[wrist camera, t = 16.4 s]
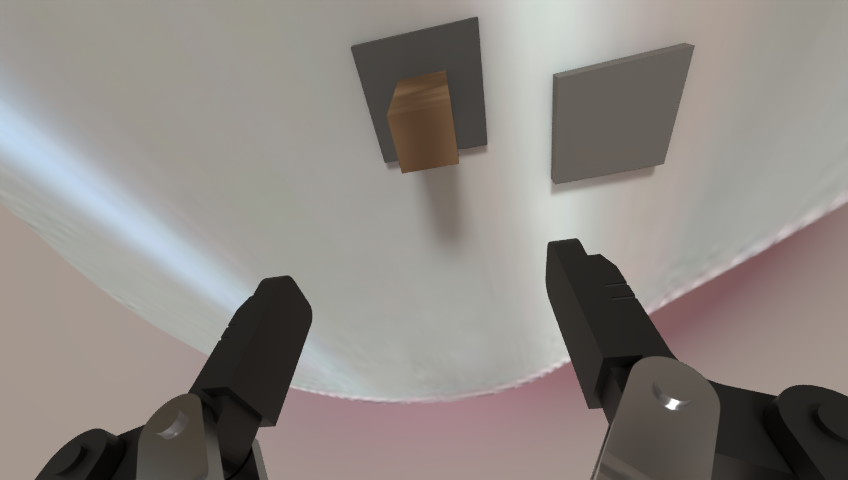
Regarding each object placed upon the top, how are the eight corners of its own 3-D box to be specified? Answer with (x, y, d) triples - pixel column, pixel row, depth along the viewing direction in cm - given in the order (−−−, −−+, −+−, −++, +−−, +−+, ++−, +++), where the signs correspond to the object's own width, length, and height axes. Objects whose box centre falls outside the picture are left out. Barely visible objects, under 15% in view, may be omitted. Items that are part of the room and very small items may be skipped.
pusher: (445, 70, 24) (450, 103, 17) (452, 118, 26) (459, 163, 20) (398, 80, 24) (386, 116, 18) (408, 127, 26) (402, 173, 20)
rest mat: (476, 16, 22) (477, 17, 21) (486, 141, 27) (487, 144, 27) (352, 45, 23) (350, 47, 23) (385, 159, 29) (384, 162, 28)
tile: (694, 45, 22) (663, 163, 27) (680, 41, 23) (653, 155, 29) (558, 77, 23) (555, 184, 29) (551, 72, 24) (549, 175, 30)
